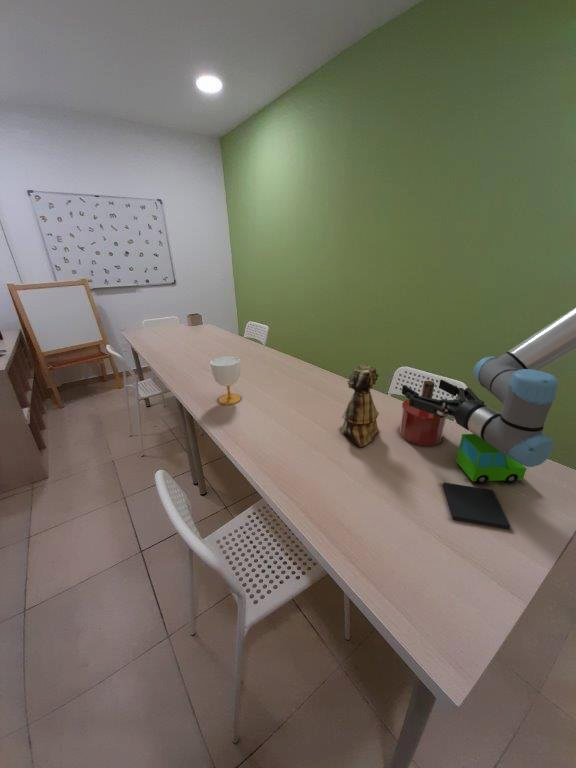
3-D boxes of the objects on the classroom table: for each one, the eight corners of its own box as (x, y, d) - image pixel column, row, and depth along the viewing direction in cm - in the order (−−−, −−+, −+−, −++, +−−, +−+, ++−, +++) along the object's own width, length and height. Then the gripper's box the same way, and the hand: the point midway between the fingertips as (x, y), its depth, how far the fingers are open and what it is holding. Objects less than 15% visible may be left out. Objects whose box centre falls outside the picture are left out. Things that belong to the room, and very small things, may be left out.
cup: (231, 391, 133) (227, 354, 126) (249, 398, 126) (246, 360, 119) (209, 400, 125) (204, 362, 118) (227, 408, 118) (222, 368, 111)
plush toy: (323, 432, 99) (343, 365, 86) (342, 416, 109) (362, 354, 97) (362, 454, 92) (389, 385, 80) (378, 435, 103) (404, 371, 90)
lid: (443, 403, 99) (448, 376, 95) (452, 424, 87) (459, 393, 83) (400, 399, 102) (403, 373, 98) (403, 419, 90) (407, 389, 86)
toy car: (526, 486, 76) (538, 453, 72) (473, 487, 76) (483, 455, 72) (499, 460, 85) (509, 430, 81) (453, 462, 85) (460, 432, 81)
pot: (437, 427, 102) (442, 402, 98) (445, 448, 91) (451, 421, 87) (398, 422, 105) (401, 398, 101) (401, 443, 94) (405, 416, 90)
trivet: (491, 492, 74) (492, 489, 74) (509, 529, 64) (510, 525, 64) (442, 485, 77) (443, 482, 76) (452, 519, 67) (453, 516, 66)
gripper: (433, 440, 73) (385, 402, 92) (513, 424, 79) (453, 391, 98) (439, 413, 70) (388, 380, 89) (521, 398, 76) (457, 370, 95)
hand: (422, 386), depth 94 cm, fingers open, 13 cm apart
